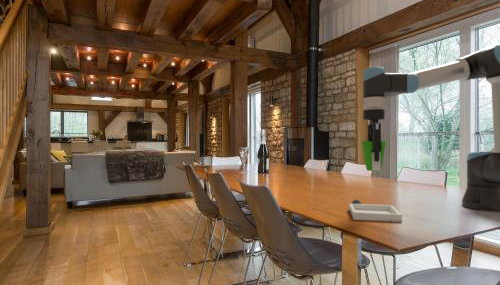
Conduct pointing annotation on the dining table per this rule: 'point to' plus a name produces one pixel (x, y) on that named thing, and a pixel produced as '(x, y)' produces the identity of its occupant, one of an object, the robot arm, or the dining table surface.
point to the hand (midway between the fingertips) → (373, 169)
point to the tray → (375, 212)
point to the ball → (356, 202)
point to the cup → (368, 154)
